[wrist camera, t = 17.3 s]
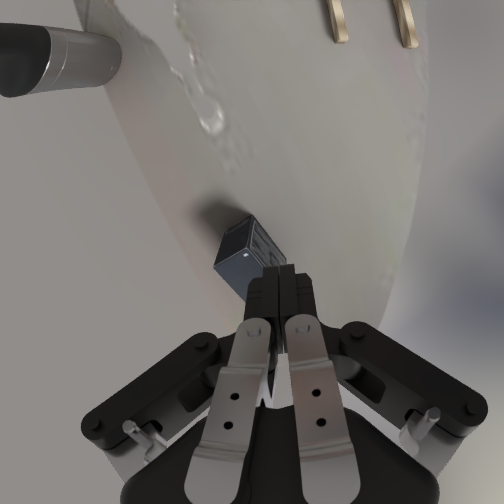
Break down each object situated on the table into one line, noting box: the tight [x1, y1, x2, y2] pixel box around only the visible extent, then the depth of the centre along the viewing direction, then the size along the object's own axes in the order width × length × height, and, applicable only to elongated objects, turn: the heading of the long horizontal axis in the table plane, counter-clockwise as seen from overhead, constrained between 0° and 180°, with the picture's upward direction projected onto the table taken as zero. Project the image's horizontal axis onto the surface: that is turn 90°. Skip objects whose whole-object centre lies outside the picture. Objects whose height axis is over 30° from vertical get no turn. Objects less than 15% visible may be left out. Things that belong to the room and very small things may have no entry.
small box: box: [213, 215, 286, 303], centre depth 44 cm, size 11×6×10 cm, turn 36°
